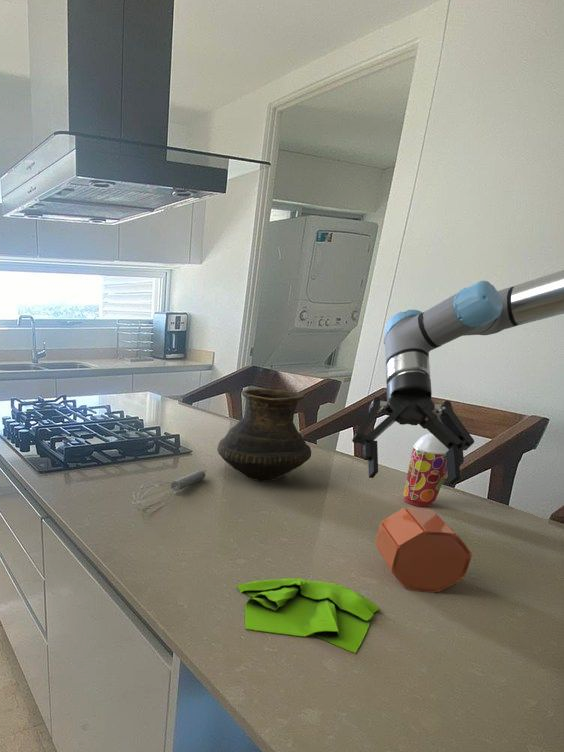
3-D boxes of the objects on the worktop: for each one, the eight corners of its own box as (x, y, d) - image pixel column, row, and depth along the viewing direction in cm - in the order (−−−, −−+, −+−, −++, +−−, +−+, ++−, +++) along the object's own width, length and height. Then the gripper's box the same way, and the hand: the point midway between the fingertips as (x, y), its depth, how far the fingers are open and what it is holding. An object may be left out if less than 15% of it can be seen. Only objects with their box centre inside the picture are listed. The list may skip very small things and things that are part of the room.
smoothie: (406, 493, 123) (428, 415, 115) (442, 503, 117) (469, 421, 109) (392, 501, 118) (414, 419, 110) (429, 512, 112) (456, 426, 104)
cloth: (394, 608, 76) (398, 595, 75) (335, 675, 62) (339, 661, 61) (275, 562, 89) (277, 550, 88) (205, 608, 75) (206, 595, 74)
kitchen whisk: (214, 479, 131) (217, 456, 128) (149, 521, 106) (150, 494, 103) (194, 474, 134) (196, 452, 132) (126, 514, 109) (126, 488, 106)
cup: (370, 559, 91) (384, 505, 86) (435, 566, 89) (453, 511, 84) (385, 587, 82) (402, 528, 78) (458, 595, 80) (479, 535, 75)
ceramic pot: (315, 472, 138) (331, 391, 128) (291, 498, 119) (308, 406, 110) (233, 457, 150) (242, 382, 141) (200, 478, 131) (208, 394, 122)
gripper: (467, 396, 97) (478, 492, 90) (335, 390, 102) (335, 481, 95) (489, 372, 90) (502, 474, 83) (346, 367, 95) (346, 462, 88)
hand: (413, 478), depth 89 cm, fingers open, 13 cm apart
